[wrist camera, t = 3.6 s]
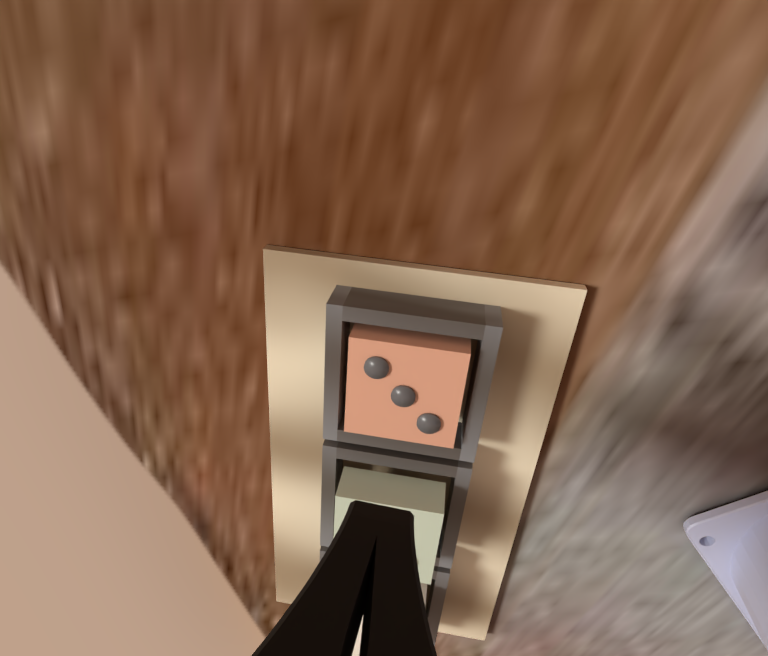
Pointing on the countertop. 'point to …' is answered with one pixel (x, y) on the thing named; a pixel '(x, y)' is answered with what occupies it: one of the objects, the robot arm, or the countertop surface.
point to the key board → (452, 466)
